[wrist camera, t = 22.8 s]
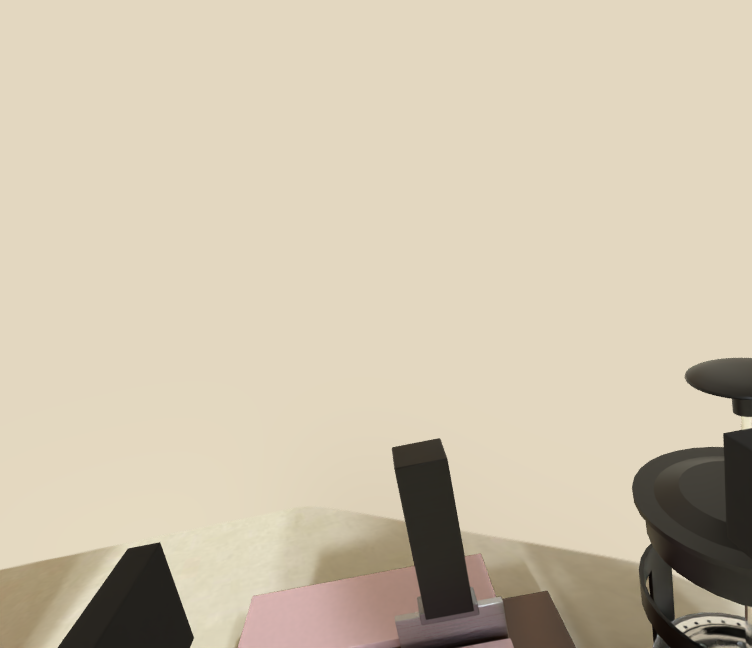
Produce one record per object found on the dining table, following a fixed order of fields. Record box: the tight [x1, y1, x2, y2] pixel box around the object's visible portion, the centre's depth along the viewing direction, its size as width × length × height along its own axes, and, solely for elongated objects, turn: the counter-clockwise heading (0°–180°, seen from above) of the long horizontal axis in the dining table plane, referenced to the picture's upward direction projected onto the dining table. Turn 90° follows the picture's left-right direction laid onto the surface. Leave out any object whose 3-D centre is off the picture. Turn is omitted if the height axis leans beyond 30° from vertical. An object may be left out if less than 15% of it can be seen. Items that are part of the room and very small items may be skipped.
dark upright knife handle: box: [392, 439, 509, 648], centre depth 26 cm, size 6×2×19 cm, turn 92°
